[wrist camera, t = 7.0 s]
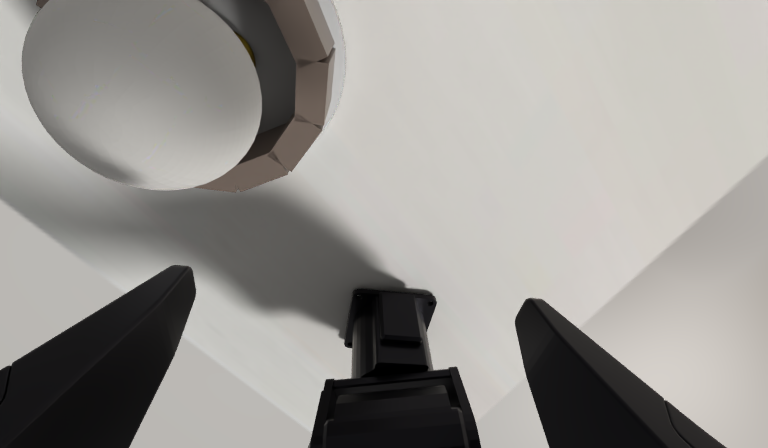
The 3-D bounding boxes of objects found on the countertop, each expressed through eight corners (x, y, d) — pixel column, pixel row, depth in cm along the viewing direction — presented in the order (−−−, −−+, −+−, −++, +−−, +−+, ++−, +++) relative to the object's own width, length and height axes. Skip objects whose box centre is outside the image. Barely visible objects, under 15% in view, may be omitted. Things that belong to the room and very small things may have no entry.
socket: (335, 170, 21) (328, 213, 17) (136, 144, 19) (78, 184, 16) (359, -62, 15) (357, -80, 11) (75, -126, 14) (-45, -174, 10)
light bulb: (149, 76, 17) (-58, 161, 9) (186, -54, 14) (-60, -111, 6) (265, 139, 19) (188, 258, 11) (316, 36, 16) (267, 87, 8)
